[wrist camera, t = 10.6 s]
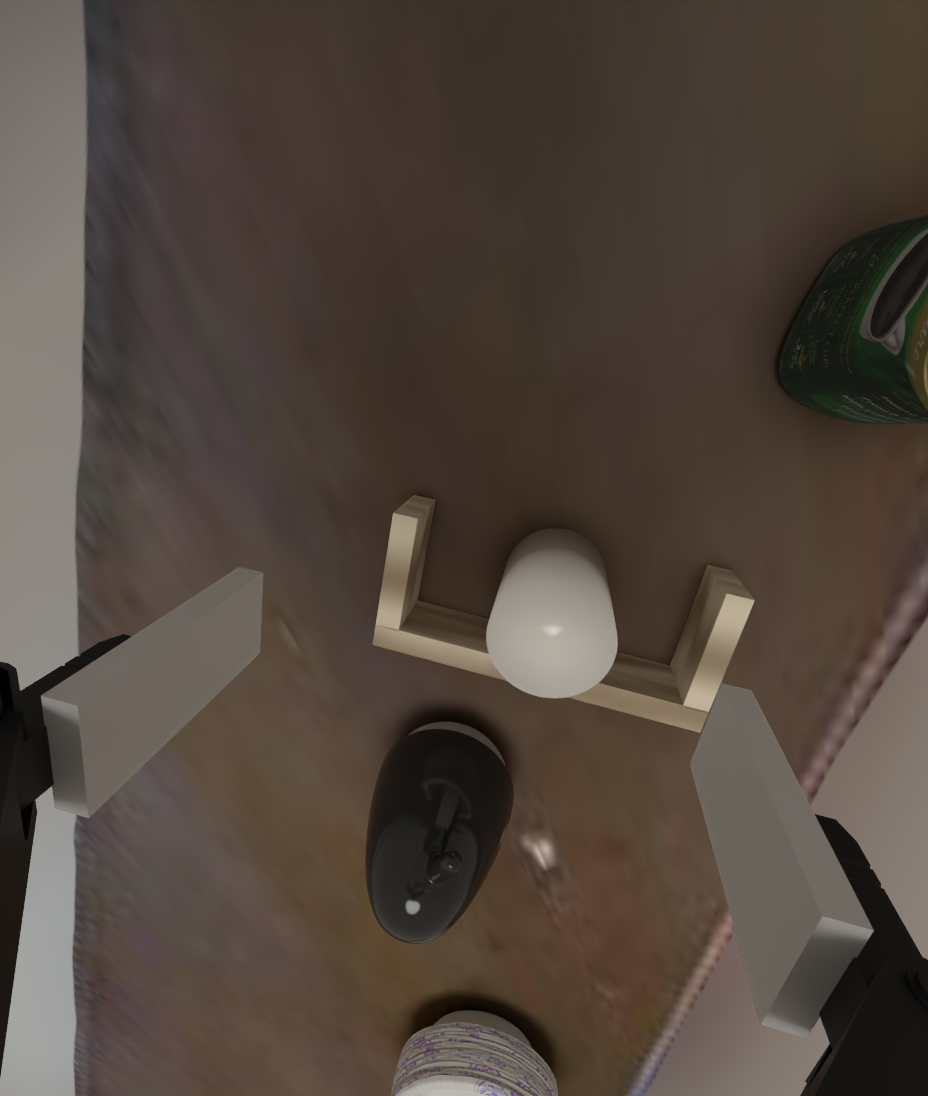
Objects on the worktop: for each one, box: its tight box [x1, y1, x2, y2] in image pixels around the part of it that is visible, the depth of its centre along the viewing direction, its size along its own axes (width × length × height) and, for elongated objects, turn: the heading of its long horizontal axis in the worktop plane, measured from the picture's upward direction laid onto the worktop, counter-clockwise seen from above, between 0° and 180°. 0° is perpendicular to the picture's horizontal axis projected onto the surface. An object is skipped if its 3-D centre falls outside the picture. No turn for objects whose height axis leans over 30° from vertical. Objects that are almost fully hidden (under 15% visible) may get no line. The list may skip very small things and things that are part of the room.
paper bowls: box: [391, 1010, 558, 1096], centre depth 53 cm, size 15×15×8 cm
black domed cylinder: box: [365, 722, 514, 944], centre depth 39 cm, size 10×10×15 cm
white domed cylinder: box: [486, 528, 618, 698], centre depth 35 cm, size 7×7×10 cm
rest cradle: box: [373, 495, 755, 733], centre depth 38 cm, size 10×22×5 cm, turn 79°
